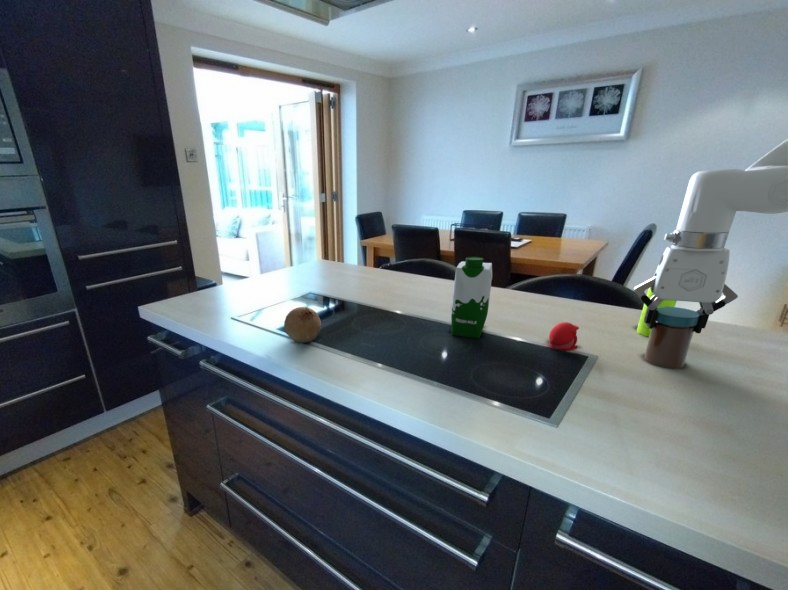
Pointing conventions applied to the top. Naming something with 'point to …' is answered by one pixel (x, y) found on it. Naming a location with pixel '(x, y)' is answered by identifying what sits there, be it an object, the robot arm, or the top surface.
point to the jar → (668, 345)
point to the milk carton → (471, 297)
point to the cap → (563, 337)
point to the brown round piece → (302, 324)
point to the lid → (677, 316)
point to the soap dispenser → (642, 325)
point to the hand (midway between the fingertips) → (672, 328)
